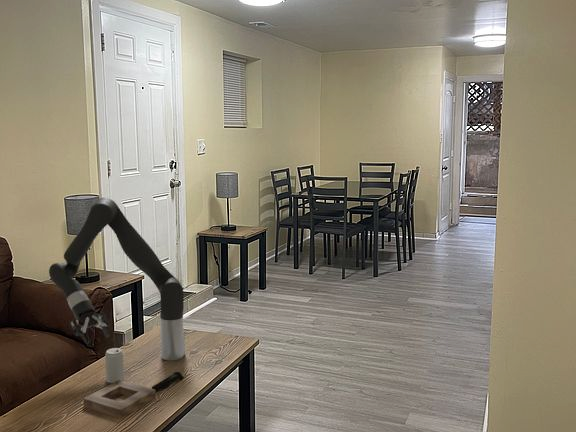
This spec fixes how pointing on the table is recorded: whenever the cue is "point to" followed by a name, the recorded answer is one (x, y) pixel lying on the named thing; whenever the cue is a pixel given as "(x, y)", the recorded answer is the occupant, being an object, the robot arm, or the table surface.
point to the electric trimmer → (167, 381)
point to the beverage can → (114, 365)
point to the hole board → (118, 409)
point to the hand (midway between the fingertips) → (98, 339)
